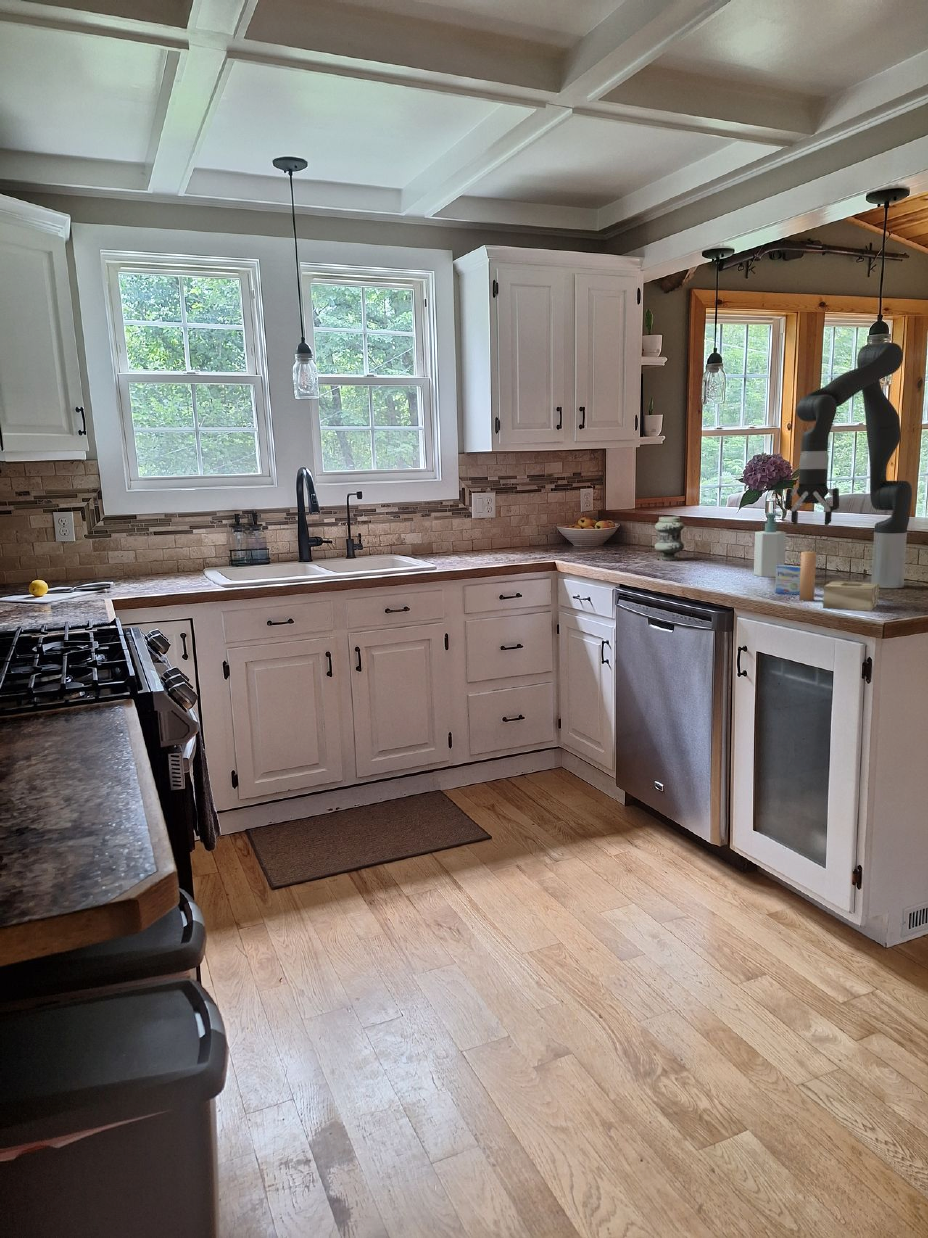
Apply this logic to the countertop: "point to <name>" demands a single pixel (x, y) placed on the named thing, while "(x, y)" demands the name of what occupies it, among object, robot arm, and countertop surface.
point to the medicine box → (788, 579)
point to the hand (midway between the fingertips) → (810, 524)
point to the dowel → (807, 576)
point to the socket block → (851, 595)
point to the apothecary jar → (669, 537)
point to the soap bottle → (769, 549)
